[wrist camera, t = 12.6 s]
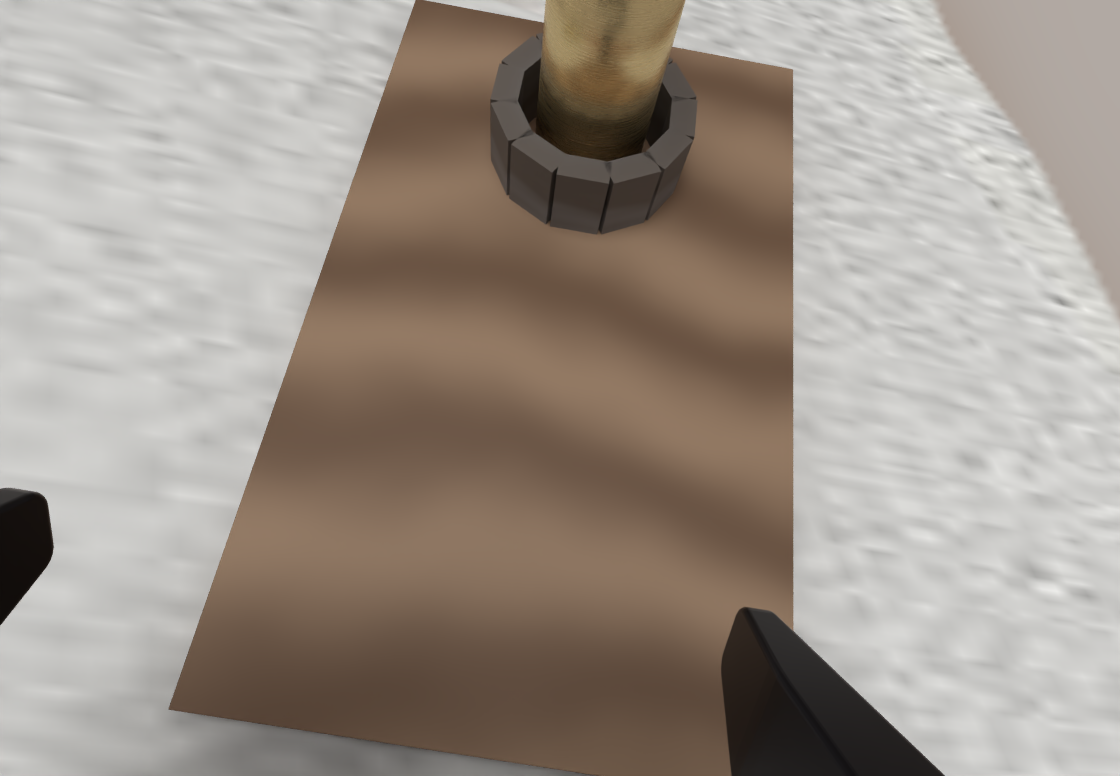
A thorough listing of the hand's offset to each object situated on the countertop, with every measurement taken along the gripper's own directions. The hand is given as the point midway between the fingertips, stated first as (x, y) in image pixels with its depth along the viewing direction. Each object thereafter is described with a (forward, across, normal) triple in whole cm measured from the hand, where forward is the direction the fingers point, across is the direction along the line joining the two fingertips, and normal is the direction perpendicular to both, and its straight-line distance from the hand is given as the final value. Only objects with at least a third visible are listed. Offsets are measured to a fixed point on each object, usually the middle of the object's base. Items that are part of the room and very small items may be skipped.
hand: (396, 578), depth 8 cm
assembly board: (+18, -2, +1) cm, 18 cm away
